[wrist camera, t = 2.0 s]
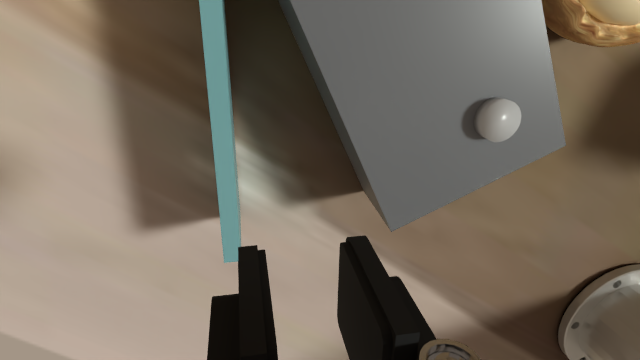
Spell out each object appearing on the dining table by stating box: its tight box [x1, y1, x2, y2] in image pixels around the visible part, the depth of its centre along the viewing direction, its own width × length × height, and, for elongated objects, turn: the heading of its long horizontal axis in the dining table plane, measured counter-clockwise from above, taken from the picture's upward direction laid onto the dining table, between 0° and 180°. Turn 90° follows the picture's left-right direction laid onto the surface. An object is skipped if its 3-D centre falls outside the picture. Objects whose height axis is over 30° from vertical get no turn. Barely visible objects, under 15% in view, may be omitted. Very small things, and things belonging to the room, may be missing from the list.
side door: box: [199, 0, 241, 263], centre depth 23 cm, size 20×1×6 cm, turn 179°
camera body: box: [278, 0, 566, 232], centre depth 23 cm, size 22×12×7 cm, turn 24°
